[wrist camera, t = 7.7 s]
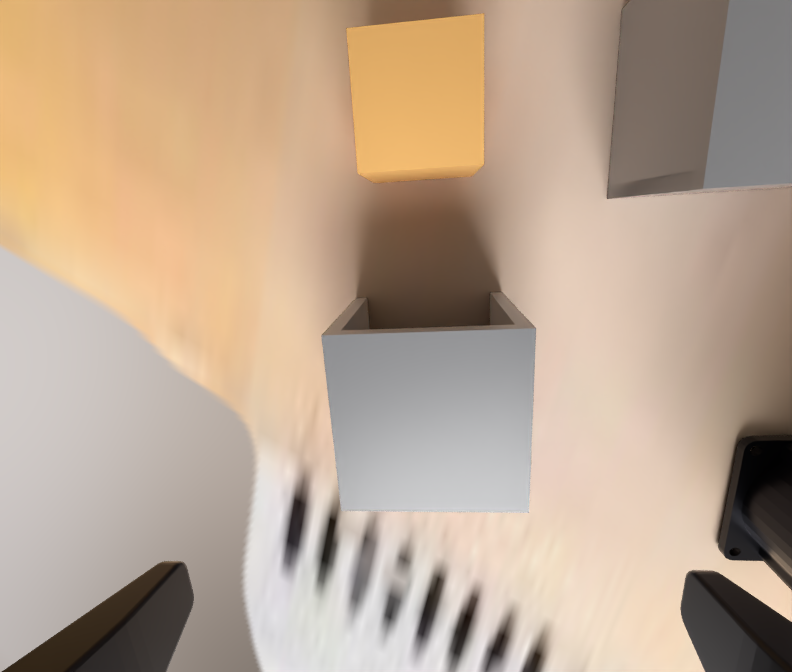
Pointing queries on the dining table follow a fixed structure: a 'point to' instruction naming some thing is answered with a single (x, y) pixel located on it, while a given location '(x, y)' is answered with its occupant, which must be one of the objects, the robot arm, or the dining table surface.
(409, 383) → the hiding cup
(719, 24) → the grey cube box
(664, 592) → the dining table surface
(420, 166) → the orange block
